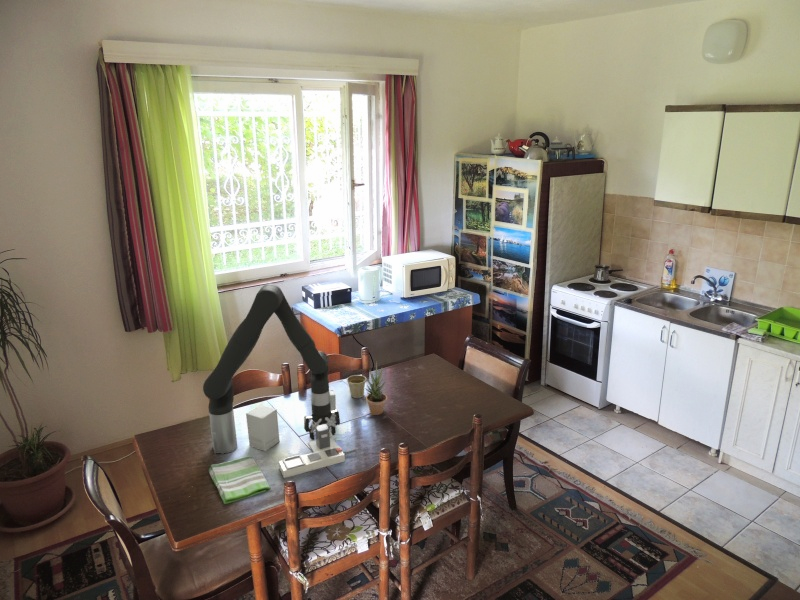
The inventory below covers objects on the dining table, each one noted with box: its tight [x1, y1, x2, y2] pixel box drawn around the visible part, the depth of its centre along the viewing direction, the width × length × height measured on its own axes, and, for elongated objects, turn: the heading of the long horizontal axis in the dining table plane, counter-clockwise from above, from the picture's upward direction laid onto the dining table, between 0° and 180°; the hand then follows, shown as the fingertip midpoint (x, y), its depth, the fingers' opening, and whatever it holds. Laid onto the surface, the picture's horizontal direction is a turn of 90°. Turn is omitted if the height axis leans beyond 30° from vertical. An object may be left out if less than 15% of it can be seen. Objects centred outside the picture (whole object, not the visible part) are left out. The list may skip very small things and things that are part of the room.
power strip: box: [278, 445, 357, 479], centre depth 218 cm, size 30×7×4 cm, turn 116°
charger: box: [314, 424, 331, 449], centre depth 228 cm, size 4×5×8 cm
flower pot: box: [346, 374, 367, 399], centre depth 271 cm, size 9×9×9 cm
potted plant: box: [364, 361, 388, 416], centre depth 253 cm, size 10×10×25 cm
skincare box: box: [318, 389, 337, 427], centre depth 245 cm, size 8×6×15 cm
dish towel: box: [208, 455, 271, 505], centre depth 208 cm, size 17×23×4 cm
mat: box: [307, 435, 339, 453], centre depth 229 cm, size 10×10×1 cm
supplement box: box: [245, 404, 281, 452], centre depth 230 cm, size 9×9×15 cm
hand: (323, 436), depth 228 cm, fingers open, 8 cm apart
